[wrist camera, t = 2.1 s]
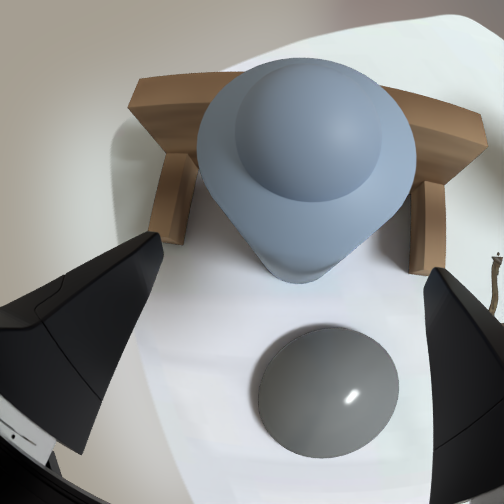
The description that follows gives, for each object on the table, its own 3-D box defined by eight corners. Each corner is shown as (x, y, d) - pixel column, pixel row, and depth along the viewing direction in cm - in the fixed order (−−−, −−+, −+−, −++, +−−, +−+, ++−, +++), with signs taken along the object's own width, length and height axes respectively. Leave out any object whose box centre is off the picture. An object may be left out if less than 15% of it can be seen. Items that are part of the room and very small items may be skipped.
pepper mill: (303, 300, 18) (343, 301, 4) (242, 248, 19) (122, 120, 5) (353, 239, 18) (475, 98, 4) (293, 191, 19) (285, -8, 5)
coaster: (328, 474, 16) (329, 478, 15) (230, 401, 18) (228, 404, 17) (420, 381, 16) (424, 383, 16) (325, 298, 18) (326, 298, 17)
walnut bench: (427, 276, 17) (498, 259, 9) (163, 242, 20) (95, 209, 12) (427, 172, 18) (480, 114, 11) (185, 144, 21) (139, 78, 13)
